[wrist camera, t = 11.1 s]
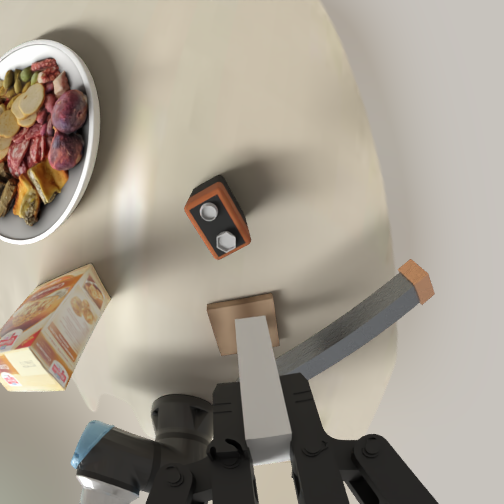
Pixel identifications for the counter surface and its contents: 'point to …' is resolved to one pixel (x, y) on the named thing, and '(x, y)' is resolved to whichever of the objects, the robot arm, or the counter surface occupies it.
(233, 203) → the battery
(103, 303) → the coffeecake box
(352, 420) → the counter surface
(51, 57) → the bowl
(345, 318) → the swing arm
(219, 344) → the arm post
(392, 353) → the counter surface
